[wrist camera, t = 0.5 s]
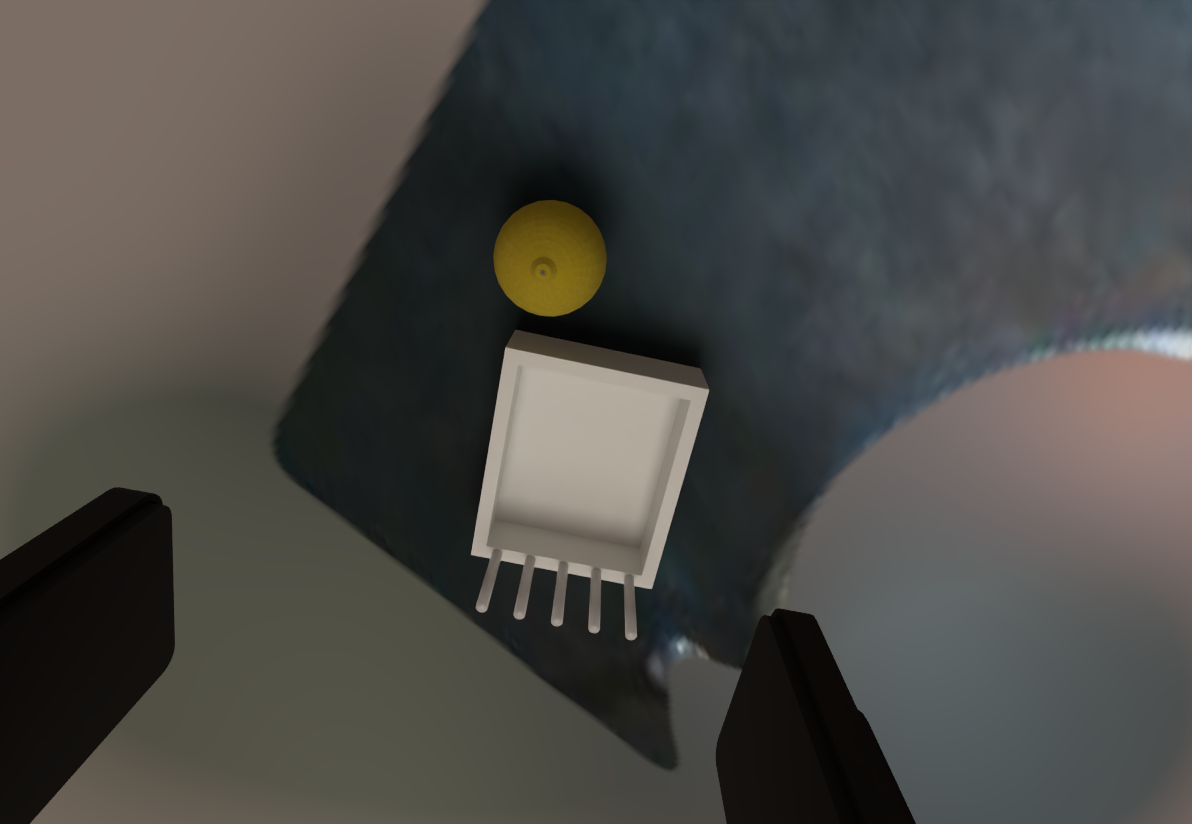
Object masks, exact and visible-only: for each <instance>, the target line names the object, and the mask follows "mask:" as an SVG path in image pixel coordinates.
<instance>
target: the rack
mask: <svg viewBox="0 0 1192 824" xmlns="http://www.w3.org/2000/svg"><path fill="white" fill-rule="evenodd" d="M708 393H709V388H708V385H707V383H706V381H705V378H704V376H703V373H702V371H701V369H700V368H696V367H691V366H686V365H682V364H677V363H672V362H667V361H663V360H658V359H653V358H648V357H644V356H639V355H634V354H629V353H624V352H620V351H615V350H610V349H605V348H601V347H596V346H591V345H586V344H582V343H577V342H572V341H567V340H562V339H558V338H553V337H548V336H543V335H539V334H534V333H529V332H524V331H520V330H515V331H514V333H513V335H512V337H511V338H510V340H509V342H508V344H507V346H506V348H505V354H504V360H503V366H502V372H501V378H500V384H499V390H498V396H497V402H496V408H495V414H494V420H493V426H492V432H491V438H490V444H489V450H488V456H487V462H486V468H485V474H484V480H483V486H482V492H481V498H480V504H479V510H478V516H477V522H476V528H475V534H474V540H473V546H472V552H471V555H475V556H480V557H486V558H490V561H489V565H488V568H487V571H486V575H485V578H484V581H483V585H482V588H481V591H480V594H479V598H478V601H477V604H476V609H477V611H479V612H485V611H486V610H487V608H488V604H489V600H490V597H491V593H492V590H493V586H494V582H495V579H496V575H497V571H498V568H499V564H500V561H507V562H512V563H517V564H522V565H524V568H523V572H522V577H521V582H520V586H519V591H518V596H517V600H516V605H515V610H514V617H515V618H516V619H523V618H524V617H525V613H526V608H527V602H528V597H529V592H530V586H531V581H532V576H533V570H534V567H538V568H543V569H548V570H554V571H558V572H557V580H556V588H555V595H554V603H553V611H552V618H551V623H552V624H553V625H554V626H560V625H561V624H562V622H563V613H564V603H565V594H566V585H567V575H568V573H569V574H575V575H580V576H585V577H590V578H591V586H590V607H589V627H588V629H589V631H590V632H591V633H597V632H599V630H600V601H601V580H606V581H611V582H617V583H622V584H624V601H625V636H626V638H627V639H629V640H634V639H635V638H636V637H637V628H636V609H635V590H634V586H638V587H643V588H648V589H652V586H653V583H654V580H655V576H656V573H657V569H658V566H659V562H660V559H661V555H662V552H663V548H664V545H665V541H666V538H667V535H668V531H669V528H670V524H671V521H672V517H673V514H674V510H675V507H676V503H677V500H678V497H679V493H680V490H681V486H682V483H683V479H684V476H685V472H686V469H687V465H688V462H689V458H690V455H691V452H692V448H693V445H694V441H695V438H696V434H697V431H698V427H699V424H700V420H701V417H702V414H703V410H704V407H705V403H706V400H707V396H708Z"/></svg>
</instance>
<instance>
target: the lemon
mask: <svg viewBox="0 0 1192 824" xmlns="http://www.w3.org/2000/svg"><path fill="white" fill-rule="evenodd" d="M606 260H607V256H606V249H605V242H604V240H603V238H602V235H601V233H600V230H599V228H598V227H597V226H596V224H595V223H594V222H593V220H592V219H591V217H589V216H588V215H587V214H586V213H584V212H583V211H582V210H581V209H580V208H577V207H575V206H573V205H571V204H569V203H567V202H561V201H556V200H545V201H537V202H534V203H531V204H529V205H526V206H524V207H522V208H521V209H519V210H518V211H517V212H515V213H514V214H512V215H511V217H510V218H509V219H508V220H507V221H506V223H505V224H504V225H503V226H502V228H501V230H500V233H499V235H498V237H497V239H496V244H495V249H494V268H495V273H496V276H497V279H498V282H499V284H500V286H501V287H502V289H503V291H504V292H505V294H506V295H507V296H508V297H509V298H510V299H511V300H512V301H513V302H514V303H515V304H516V305H517V306H519V307H520V308H522V309H524V310H526V311H527V312H530V313H533V314H537V315H540V316H559V315H564V314H568V313H570V312H572V311H574V310H576V309H578V308H580V307H582V306H583V305H584V304H585V303H586V302H588V301H589V300H590V299H591V298H592V297H593V295H594V294H595V292H596V291H597V290H598V288H599V287H600V284H601V282H602V279H603V276H604V274H605V269H606Z"/></svg>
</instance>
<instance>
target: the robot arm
mask: <svg viewBox="0 0 1192 824" xmlns="http://www.w3.org/2000/svg"><path fill="white" fill-rule="evenodd" d="M174 647H175V633H174V591H173V547H172V514H171V510H170V508H169V507H167V506H165V505H163V503H162V500H161V498H160V497H159V496H158V495H156V494H153V493H147V492H142V491H137V490H130V489H126V488H120V487H119V488H112V489H110V490H108V491H106V492H105V493H103V494H102V495H100V496H99V497H97V498H96V499H94V500H93V501H91V502H90V503H88V504H87V505H85V506H83V507H82V508H80V509H79V510H77V511H75V512H74V513H72V514H71V515H69V516H68V517H66V518H64V519H63V520H62V521H60V522H58V523H57V524H55V525H54V526H52V527H50V528H49V529H47V530H46V531H44V532H43V533H41V534H40V535H38V536H36V537H35V538H33V539H32V540H30V541H29V542H27V543H26V544H24V545H23V546H21V547H19V548H18V549H16V550H15V551H13V552H12V553H10V554H8V555H7V556H5V557H4V558H2V559H1V560H0V824H30V823H31V822H32V820H33V819H34V818H35V817H36V816H37V815H38V814H39V813H40V811H41V810H42V809H43V808H44V807H45V806H46V805H47V804H48V802H49V801H50V800H51V799H52V798H53V797H54V796H55V794H56V793H57V792H58V791H59V790H60V789H61V788H62V787H63V785H64V784H65V783H66V782H67V781H68V779H70V777H71V776H72V775H73V774H74V773H75V772H76V771H77V769H78V768H79V767H80V766H81V765H82V764H83V763H84V762H85V760H86V759H87V758H88V757H89V756H90V755H91V754H92V752H93V751H94V750H95V749H96V748H97V747H98V746H99V745H100V743H101V742H102V741H103V740H104V739H105V738H106V737H107V736H108V734H109V733H110V732H111V731H112V730H113V729H114V728H115V726H116V725H117V724H118V723H119V722H120V721H121V720H122V718H123V717H124V716H125V715H126V714H127V713H128V712H129V711H130V710H131V708H132V707H133V706H134V705H135V704H136V703H137V702H138V701H139V699H140V698H141V697H142V696H143V695H144V694H145V693H146V692H147V690H148V689H149V688H150V687H151V686H152V685H153V684H154V682H155V681H156V680H157V679H158V678H159V677H160V676H161V675H162V673H163V672H164V671H165V670H166V668H167V666H168V665H169V663H170V661H171V658H172V656H173V653H174ZM716 766H717V772H718V777H719V782H720V788H721V794H722V800H723V805H724V811H725V816H726V821H727V824H916V823H915V821H914V819H913V817H912V814H911V812H910V810H909V808H908V806H907V804H906V802H905V799H904V797H903V795H902V793H901V791H900V789H899V787H898V784H897V782H896V780H895V778H894V776H893V774H892V772H891V769H890V767H889V765H888V763H887V761H886V759H885V757H884V755H883V752H882V750H881V748H880V746H879V744H878V742H877V740H876V738H875V735H874V733H873V731H872V729H871V727H870V725H869V723H868V721H867V719H866V718H865V716H864V715H863V713H862V712H860V711H859V710H858V709H857V707H856V705H855V703H854V701H853V699H852V696H851V694H850V692H849V690H848V688H847V686H846V683H845V681H844V679H843V677H842V675H841V672H840V670H839V668H838V666H837V664H836V662H835V659H834V658H833V655H832V653H831V651H830V648H829V646H828V644H827V642H826V640H825V638H824V636H823V633H822V631H821V629H820V627H819V625H818V622H817V620H816V619H815V617H814V616H813V615H811V614H807V613H801V612H796V611H790V610H785V609H779V608H778V609H775V610H774V612H773V613H772V615H771V616H767V615H764V616H762V617H761V619H760V621H759V623H758V626H757V629H756V632H755V635H754V638H753V640H752V643H751V646H750V649H749V652H748V655H747V658H746V660H745V663H744V666H743V669H742V672H741V675H740V678H739V681H738V683H737V687H736V689H735V692H734V695H733V698H732V701H731V704H730V707H729V709H728V712H727V715H726V718H725V721H724V724H723V726H722V729H721V732H720V735H719V738H718V742H717V748H716Z"/></svg>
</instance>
